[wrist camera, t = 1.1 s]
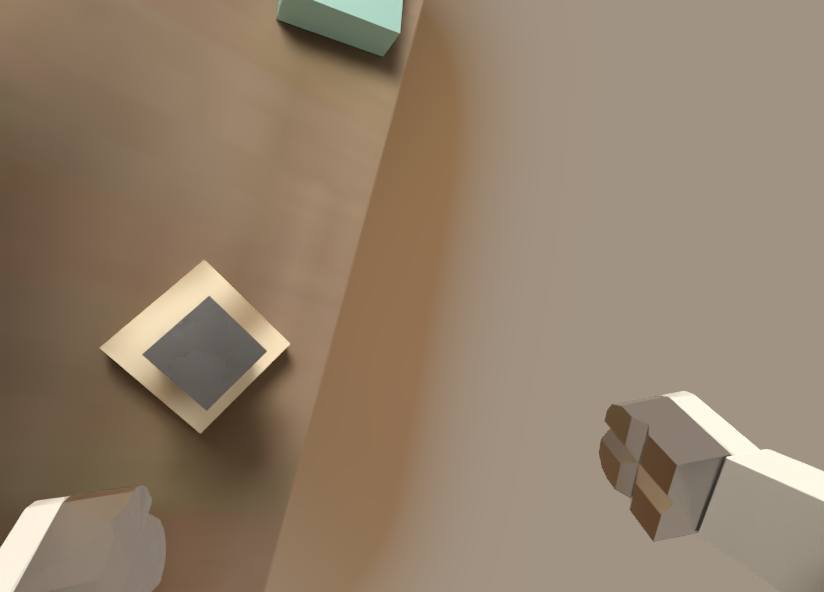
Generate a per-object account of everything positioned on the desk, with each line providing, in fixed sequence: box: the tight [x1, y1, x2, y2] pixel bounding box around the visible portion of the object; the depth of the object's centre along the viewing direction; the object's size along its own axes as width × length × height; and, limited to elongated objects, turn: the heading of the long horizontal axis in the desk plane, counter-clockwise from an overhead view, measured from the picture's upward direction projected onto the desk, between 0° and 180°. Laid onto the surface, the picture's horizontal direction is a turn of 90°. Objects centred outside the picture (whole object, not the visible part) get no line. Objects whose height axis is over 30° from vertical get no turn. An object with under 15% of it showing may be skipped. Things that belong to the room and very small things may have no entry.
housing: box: [142, 296, 267, 411], centre depth 30 cm, size 4×4×10 cm
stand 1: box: [100, 260, 290, 434], centre depth 36 cm, size 9×9×2 cm
